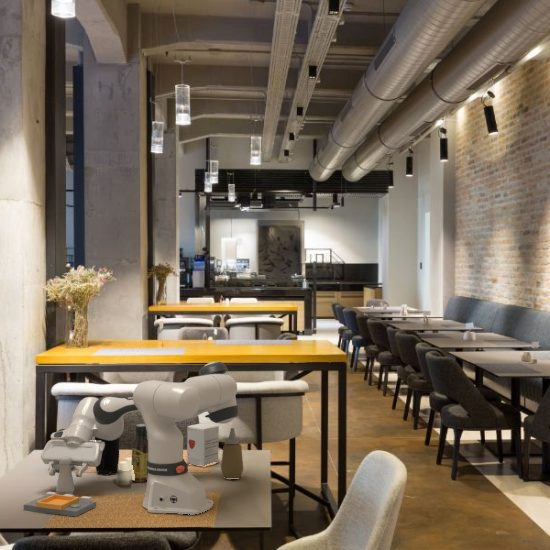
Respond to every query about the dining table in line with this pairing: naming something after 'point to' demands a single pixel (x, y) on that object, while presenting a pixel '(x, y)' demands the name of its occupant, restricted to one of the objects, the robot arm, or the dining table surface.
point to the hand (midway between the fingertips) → (64, 475)
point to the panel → (61, 504)
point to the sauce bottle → (140, 453)
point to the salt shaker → (65, 476)
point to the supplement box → (202, 444)
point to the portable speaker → (109, 457)
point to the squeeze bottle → (232, 457)
